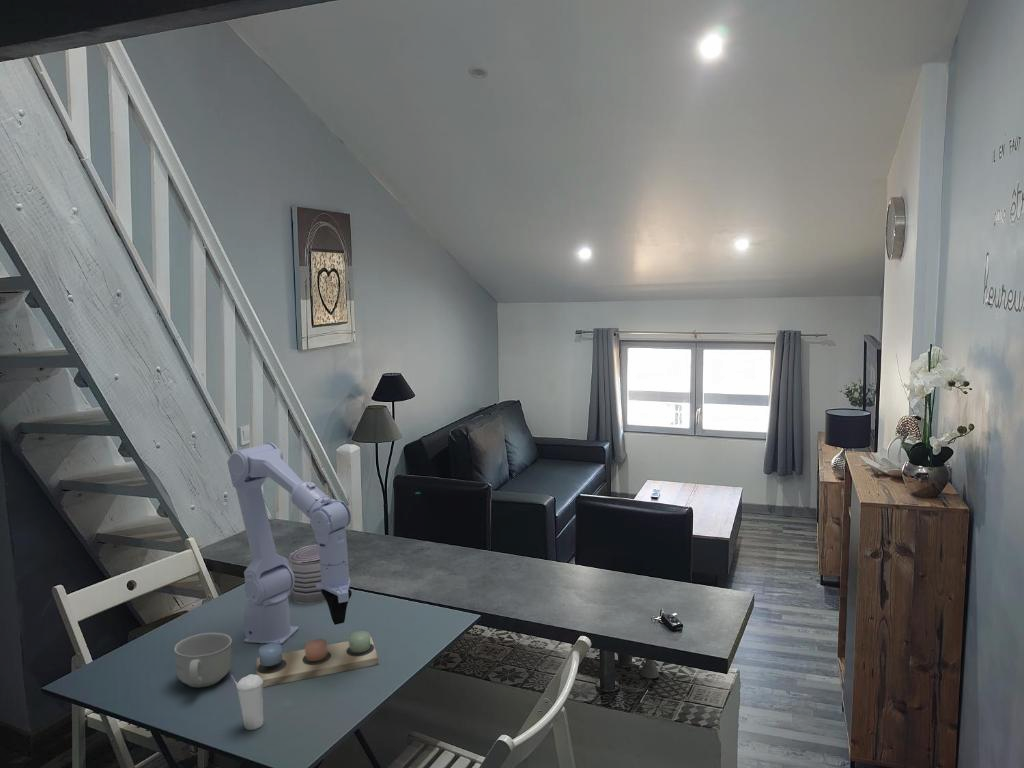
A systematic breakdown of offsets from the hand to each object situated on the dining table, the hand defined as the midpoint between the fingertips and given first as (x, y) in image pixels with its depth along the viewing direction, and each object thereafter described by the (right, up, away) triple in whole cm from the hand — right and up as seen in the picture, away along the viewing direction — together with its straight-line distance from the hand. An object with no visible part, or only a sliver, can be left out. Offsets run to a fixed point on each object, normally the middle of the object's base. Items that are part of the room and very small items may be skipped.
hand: (338, 622), depth 156 cm
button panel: (-4, -9, -1) cm, 10 cm away
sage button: (+4, -6, +2) cm, 8 cm away
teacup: (-26, -11, -6) cm, 29 cm away
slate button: (-13, -7, -4) cm, 15 cm away
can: (-14, -5, +35) cm, 38 cm away
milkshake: (-11, -12, -21) cm, 27 cm away
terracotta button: (-4, -7, -1) cm, 8 cm away
